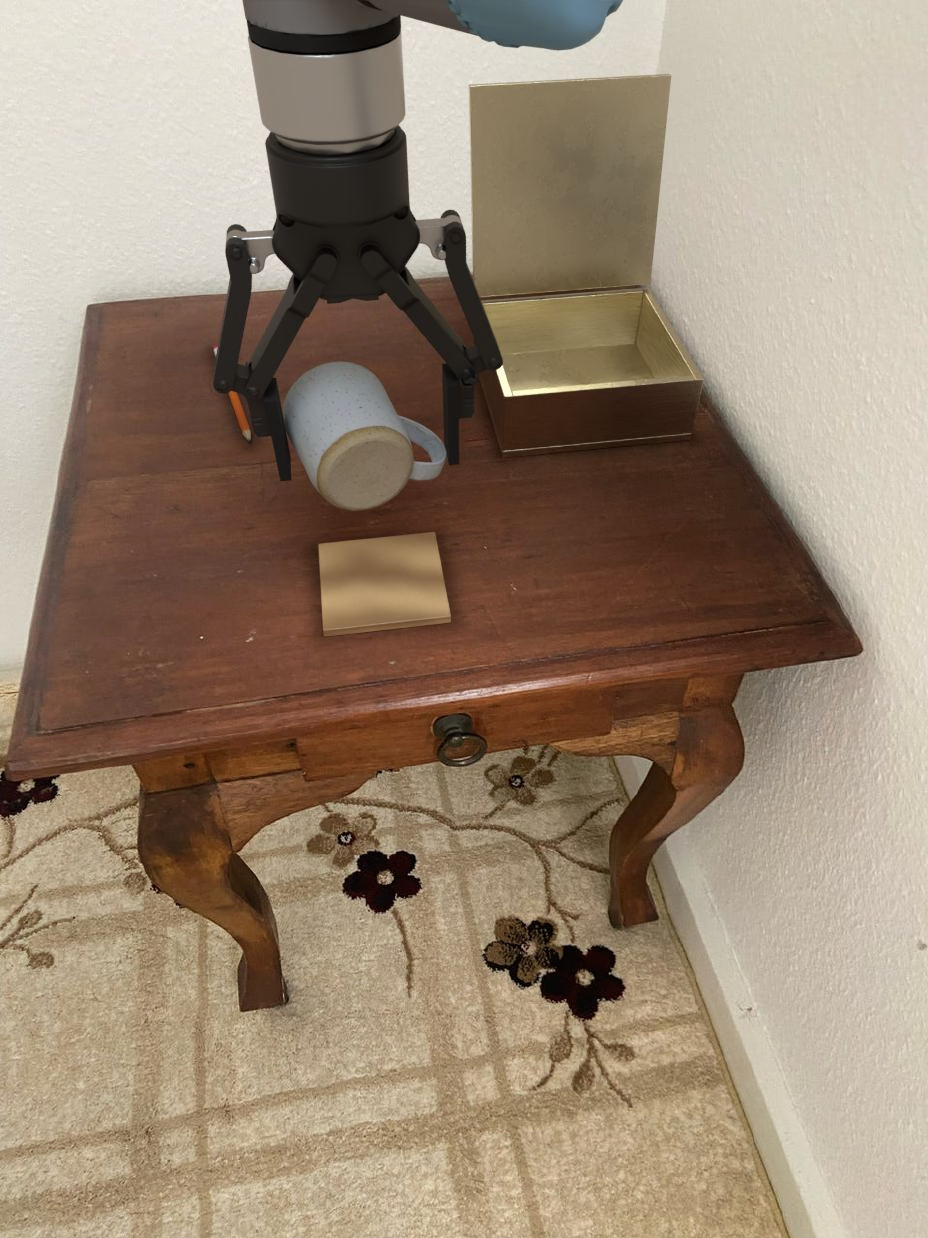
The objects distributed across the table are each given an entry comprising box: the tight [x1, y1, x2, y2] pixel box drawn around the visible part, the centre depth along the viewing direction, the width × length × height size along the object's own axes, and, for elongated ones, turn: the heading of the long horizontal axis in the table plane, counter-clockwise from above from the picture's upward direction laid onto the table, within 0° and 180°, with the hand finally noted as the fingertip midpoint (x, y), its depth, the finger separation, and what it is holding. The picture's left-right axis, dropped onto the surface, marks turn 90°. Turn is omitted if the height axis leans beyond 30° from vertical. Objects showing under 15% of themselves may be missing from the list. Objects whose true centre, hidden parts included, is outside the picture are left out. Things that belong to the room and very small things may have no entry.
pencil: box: [212, 343, 252, 444], centre depth 90 cm, size 1×19×1 cm, turn 21°
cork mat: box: [317, 531, 452, 638], centre depth 71 cm, size 10×10×1 cm
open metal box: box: [473, 287, 705, 459], centre depth 87 cm, size 18×19×7 cm
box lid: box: [468, 73, 672, 298], centre depth 86 cm, size 19×19×5 cm
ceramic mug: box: [282, 360, 448, 512], centre depth 60 cm, size 11×8×8 cm
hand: (369, 461), depth 62 cm, fingers closed on ceramic mug, 11 cm apart
